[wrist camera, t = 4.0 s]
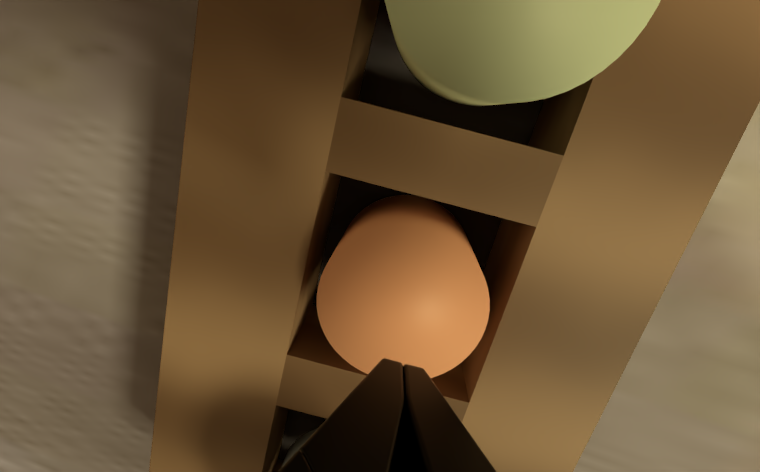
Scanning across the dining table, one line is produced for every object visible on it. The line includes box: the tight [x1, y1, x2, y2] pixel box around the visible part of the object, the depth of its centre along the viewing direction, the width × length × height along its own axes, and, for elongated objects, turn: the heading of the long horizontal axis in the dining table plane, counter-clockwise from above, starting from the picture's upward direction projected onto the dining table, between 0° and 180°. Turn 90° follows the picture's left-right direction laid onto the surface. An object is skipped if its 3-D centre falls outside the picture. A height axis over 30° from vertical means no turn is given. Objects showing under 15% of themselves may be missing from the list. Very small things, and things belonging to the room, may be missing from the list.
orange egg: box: [317, 195, 490, 378], centre depth 13 cm, size 5×5×4 cm
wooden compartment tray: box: [149, 0, 760, 472], centre depth 14 cm, size 24×14×4 cm, turn 166°
